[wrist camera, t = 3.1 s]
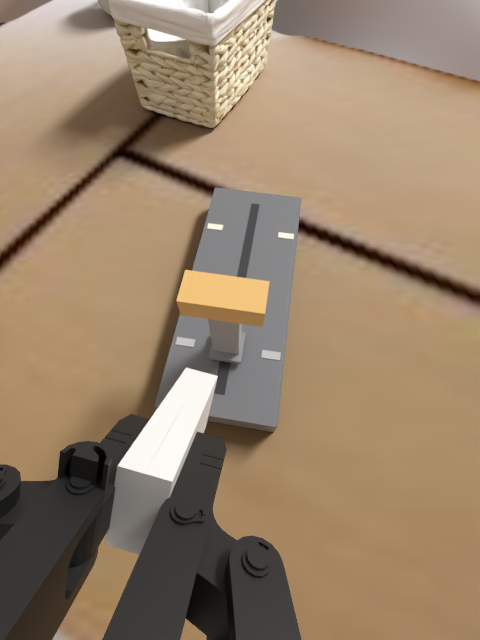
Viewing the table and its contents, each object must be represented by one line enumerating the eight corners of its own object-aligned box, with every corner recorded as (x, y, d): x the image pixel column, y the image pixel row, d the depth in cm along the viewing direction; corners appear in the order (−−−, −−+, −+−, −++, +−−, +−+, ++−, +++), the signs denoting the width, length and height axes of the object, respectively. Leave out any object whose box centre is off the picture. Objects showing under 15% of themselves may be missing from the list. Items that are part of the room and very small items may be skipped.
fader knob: (256, 366, 30) (264, 316, 21) (193, 356, 31) (175, 303, 22) (260, 337, 32) (269, 278, 23) (200, 328, 32) (185, 267, 23)
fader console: (273, 432, 31) (277, 427, 28) (161, 413, 32) (153, 406, 29) (297, 215, 43) (301, 197, 41) (216, 205, 44) (215, 187, 41)
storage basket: (200, 47, 64) (190, -67, 51) (276, 66, 61) (287, -50, 48) (132, 113, 54) (98, -8, 41) (220, 139, 51) (213, 18, 38)
